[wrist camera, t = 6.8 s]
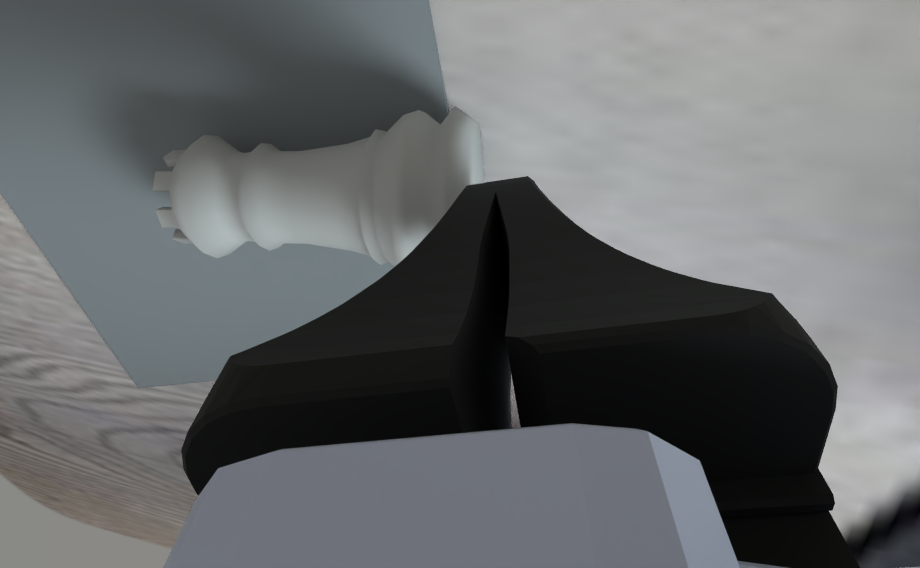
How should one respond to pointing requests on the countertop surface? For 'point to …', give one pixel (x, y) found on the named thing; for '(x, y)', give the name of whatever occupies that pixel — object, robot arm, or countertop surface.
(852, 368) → the countertop surface
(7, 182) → the mat
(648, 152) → the countertop surface
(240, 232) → the rook chess piece
